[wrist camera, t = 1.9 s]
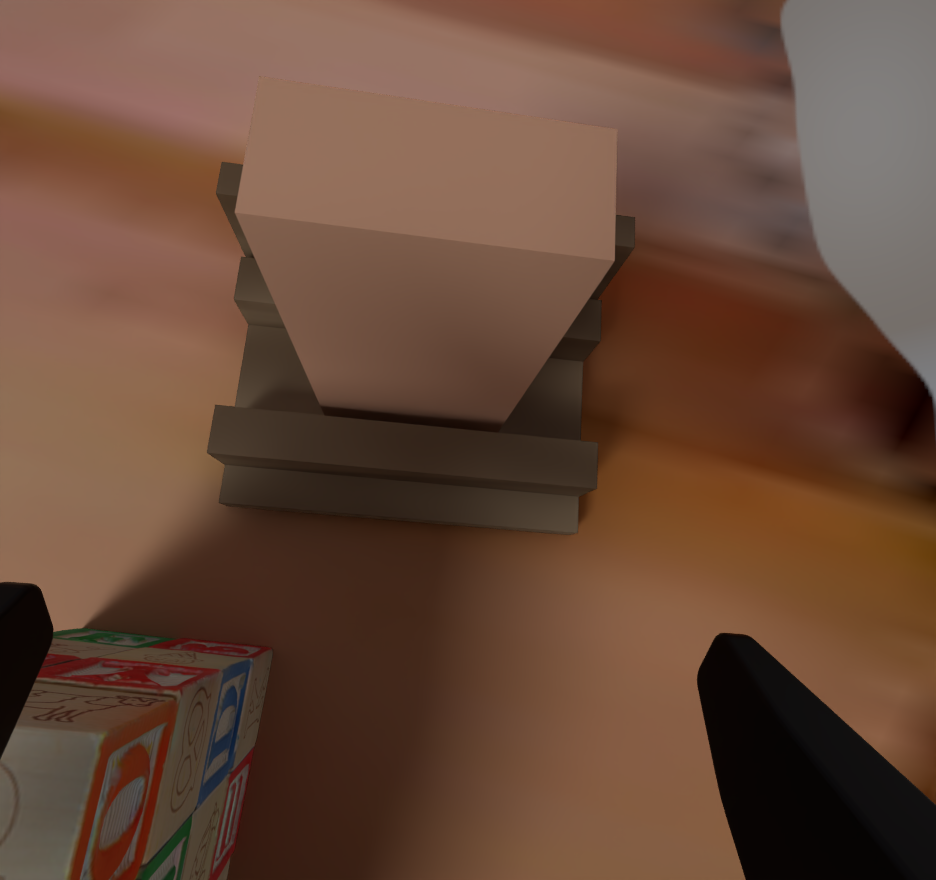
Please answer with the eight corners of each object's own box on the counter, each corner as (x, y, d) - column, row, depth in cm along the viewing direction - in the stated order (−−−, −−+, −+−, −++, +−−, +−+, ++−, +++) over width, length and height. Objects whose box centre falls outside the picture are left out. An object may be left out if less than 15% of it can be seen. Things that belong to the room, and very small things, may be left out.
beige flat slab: (497, 432, 22) (614, 261, 10) (324, 415, 21) (234, 212, 9) (501, 365, 22) (617, 129, 11) (333, 347, 22) (259, 76, 10)
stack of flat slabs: (569, 534, 22) (631, 518, 16) (227, 506, 21) (161, 477, 15) (577, 304, 24) (634, 217, 18) (265, 267, 23) (221, 162, 17)
